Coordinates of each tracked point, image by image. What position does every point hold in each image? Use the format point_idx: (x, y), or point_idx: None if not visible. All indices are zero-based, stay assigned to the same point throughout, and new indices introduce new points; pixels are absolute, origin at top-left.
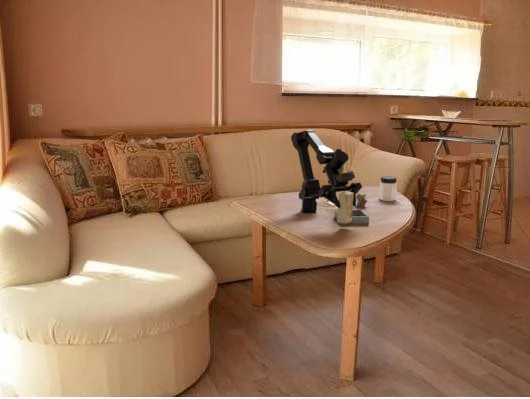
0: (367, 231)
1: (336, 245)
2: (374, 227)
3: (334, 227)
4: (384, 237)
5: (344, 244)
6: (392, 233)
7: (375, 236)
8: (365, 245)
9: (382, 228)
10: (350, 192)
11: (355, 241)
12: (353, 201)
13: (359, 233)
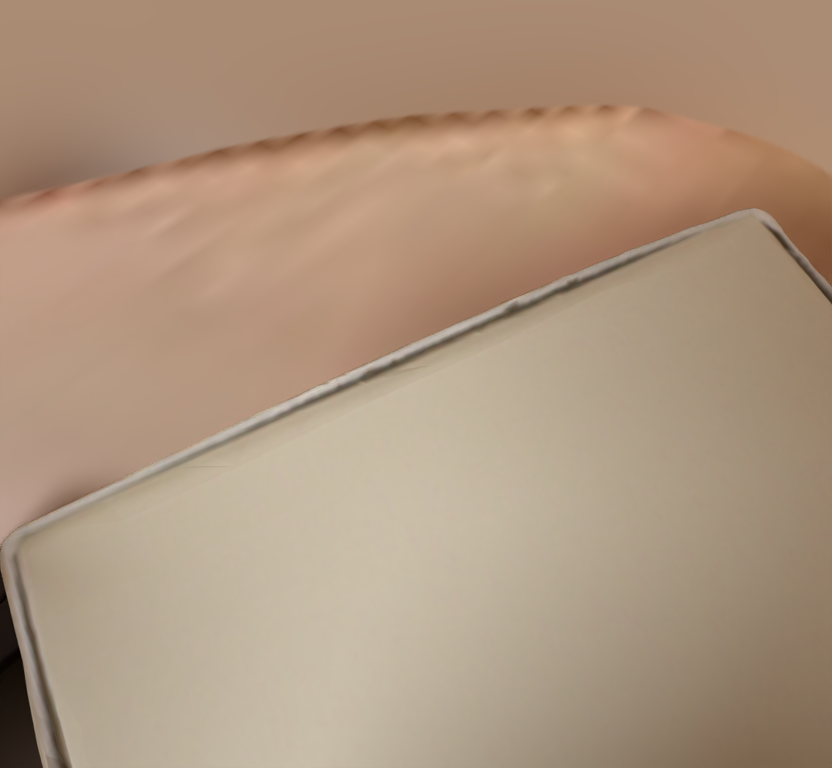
0: (259, 352)
1: (792, 218)
2: (49, 421)
3: None
4: (276, 148)
5: (718, 203)
6: (98, 181)
7: (324, 205)
8: (576, 109)
9: (9, 344)
10: (199, 654)
11: (588, 206)
12: None
13: (390, 346)
